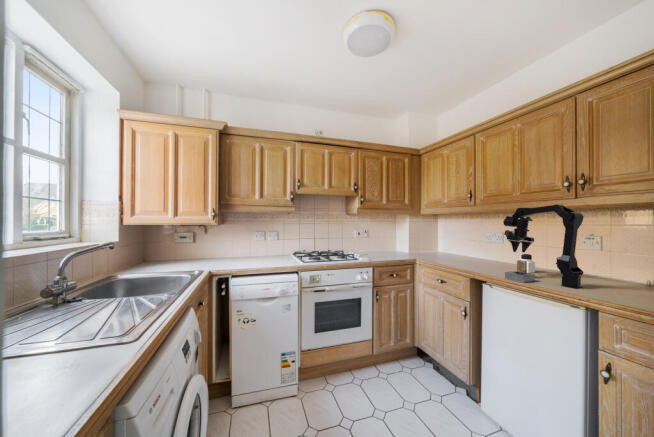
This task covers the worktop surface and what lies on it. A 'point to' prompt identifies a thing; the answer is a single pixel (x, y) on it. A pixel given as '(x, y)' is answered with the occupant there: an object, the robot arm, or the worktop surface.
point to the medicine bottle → (528, 262)
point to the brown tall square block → (522, 266)
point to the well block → (519, 276)
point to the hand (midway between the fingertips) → (518, 252)
